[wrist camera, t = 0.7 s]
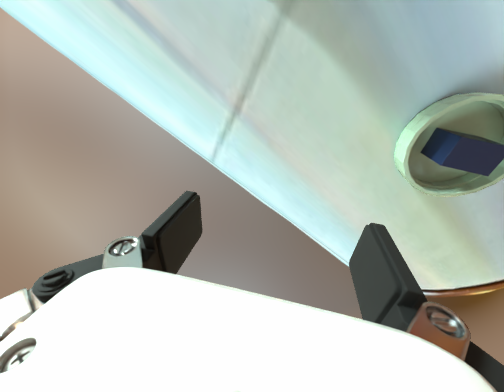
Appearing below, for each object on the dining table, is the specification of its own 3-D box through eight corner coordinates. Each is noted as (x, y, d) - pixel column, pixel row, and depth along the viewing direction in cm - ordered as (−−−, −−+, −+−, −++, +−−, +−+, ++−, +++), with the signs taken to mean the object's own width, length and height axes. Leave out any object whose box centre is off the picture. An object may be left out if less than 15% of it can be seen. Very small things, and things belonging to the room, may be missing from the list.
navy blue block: (436, 127, 35) (461, 136, 29) (479, 136, 34) (514, 147, 28) (420, 152, 37) (440, 165, 32) (460, 161, 36) (488, 176, 31)
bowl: (428, 82, 32) (445, 83, 28) (540, 104, 31) (573, 108, 27) (377, 174, 41) (384, 183, 37) (462, 194, 39) (479, 206, 36)
